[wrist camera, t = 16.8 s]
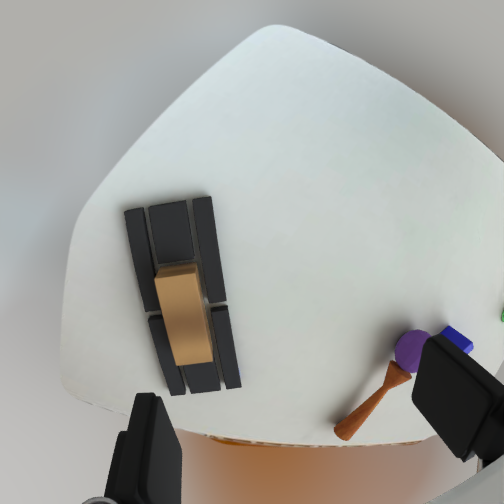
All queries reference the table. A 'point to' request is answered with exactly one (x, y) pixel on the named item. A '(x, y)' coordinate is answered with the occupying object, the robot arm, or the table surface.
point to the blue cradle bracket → (458, 339)
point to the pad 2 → (198, 374)
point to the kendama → (387, 380)
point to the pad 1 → (174, 245)
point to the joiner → (184, 313)
